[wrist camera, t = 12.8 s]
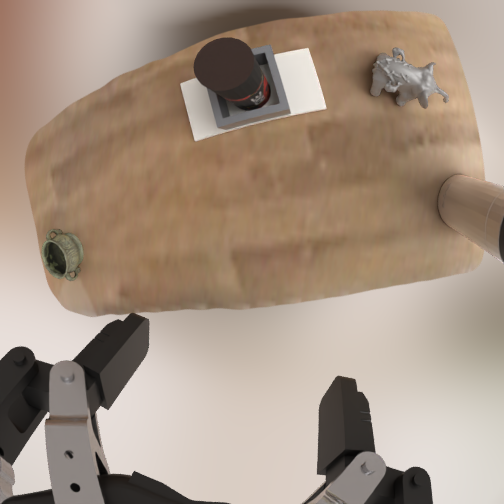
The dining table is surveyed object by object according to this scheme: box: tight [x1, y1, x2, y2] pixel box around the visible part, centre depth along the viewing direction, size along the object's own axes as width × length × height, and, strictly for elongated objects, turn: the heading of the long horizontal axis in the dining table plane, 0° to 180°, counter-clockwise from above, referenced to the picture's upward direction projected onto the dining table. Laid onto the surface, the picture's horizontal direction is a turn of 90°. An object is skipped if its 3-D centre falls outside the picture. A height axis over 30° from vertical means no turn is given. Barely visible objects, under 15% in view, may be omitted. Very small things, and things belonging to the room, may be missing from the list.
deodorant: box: [194, 38, 271, 111], centre depth 29 cm, size 6×6×15 cm
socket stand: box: [180, 45, 327, 141], centre depth 34 cm, size 20×10×6 cm, turn 105°
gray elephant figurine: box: [370, 48, 449, 109], centre depth 28 cm, size 9×12×8 cm
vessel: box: [42, 229, 83, 281], centre depth 49 cm, size 12×9×6 cm
